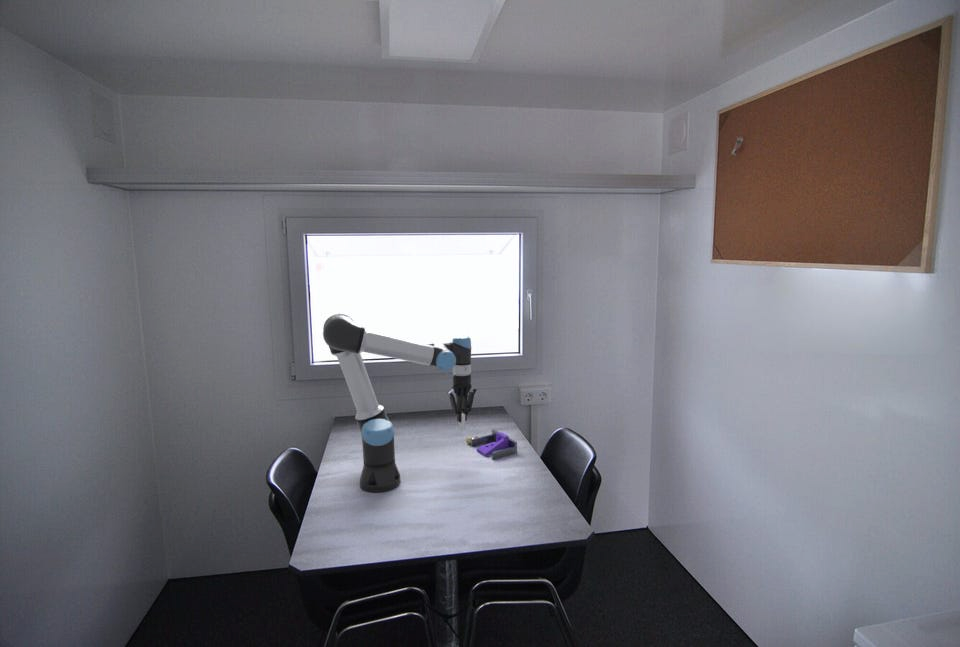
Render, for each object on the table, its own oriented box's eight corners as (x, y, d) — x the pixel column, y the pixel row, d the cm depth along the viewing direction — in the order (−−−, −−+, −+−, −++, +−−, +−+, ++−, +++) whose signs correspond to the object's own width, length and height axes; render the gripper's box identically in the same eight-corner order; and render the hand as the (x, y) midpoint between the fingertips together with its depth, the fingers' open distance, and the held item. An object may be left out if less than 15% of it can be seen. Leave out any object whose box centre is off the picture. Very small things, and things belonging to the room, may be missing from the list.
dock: (493, 459, 213) (493, 448, 212) (471, 445, 228) (470, 434, 227) (517, 453, 219) (517, 442, 218) (494, 439, 234) (493, 429, 233)
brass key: (471, 445, 229) (471, 438, 228) (466, 443, 231) (466, 436, 230) (479, 441, 233) (479, 434, 232) (474, 439, 235) (474, 432, 234)
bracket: (499, 445, 228) (499, 431, 227) (508, 451, 222) (508, 436, 221) (476, 451, 222) (476, 436, 221) (485, 457, 216) (485, 442, 215)
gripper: (452, 377, 204) (452, 434, 207) (480, 373, 210) (479, 428, 214) (443, 373, 210) (443, 428, 213) (471, 369, 217) (470, 423, 220)
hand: (461, 428), depth 214 cm, fingers closed
